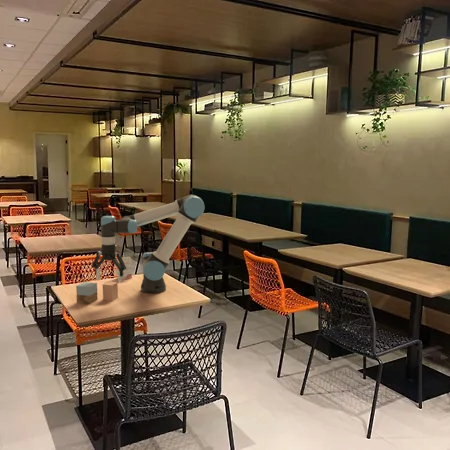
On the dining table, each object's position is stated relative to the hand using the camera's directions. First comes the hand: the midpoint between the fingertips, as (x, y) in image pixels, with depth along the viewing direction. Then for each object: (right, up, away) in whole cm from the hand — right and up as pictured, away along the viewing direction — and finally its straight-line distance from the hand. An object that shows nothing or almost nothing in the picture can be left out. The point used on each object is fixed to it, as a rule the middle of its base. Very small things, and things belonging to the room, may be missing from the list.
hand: (109, 280), depth 253 cm
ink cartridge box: (-2, -4, +46) cm, 46 cm away
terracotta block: (0, -10, +2) cm, 11 cm away
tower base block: (-11, -11, -3) cm, 16 cm away
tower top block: (-11, -6, -4) cm, 14 cm away
